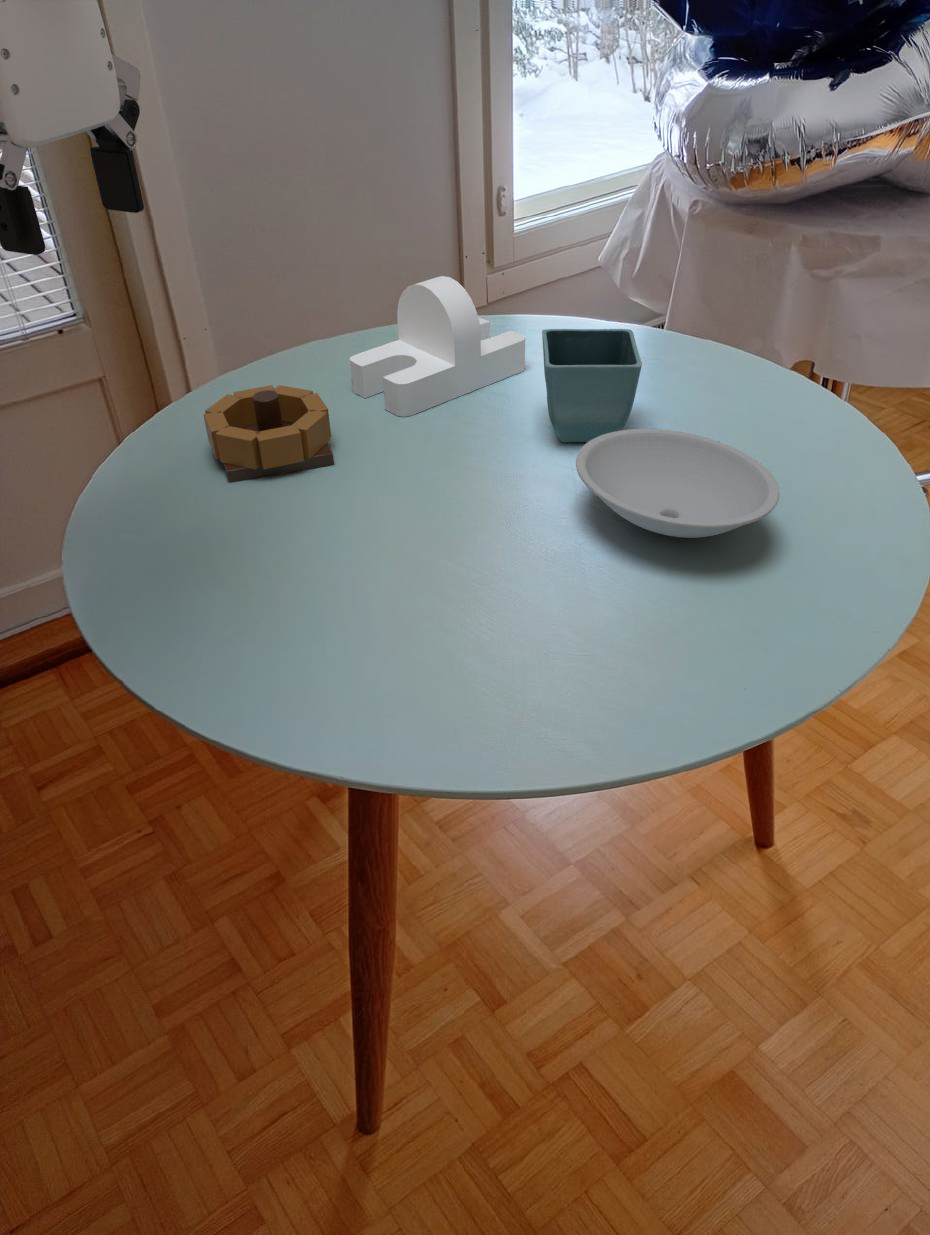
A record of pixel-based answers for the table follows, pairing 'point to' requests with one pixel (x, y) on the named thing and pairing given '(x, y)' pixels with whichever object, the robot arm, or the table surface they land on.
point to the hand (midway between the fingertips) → (77, 229)
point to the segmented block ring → (269, 444)
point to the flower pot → (589, 380)
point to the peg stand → (271, 419)
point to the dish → (676, 481)
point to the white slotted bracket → (436, 351)
